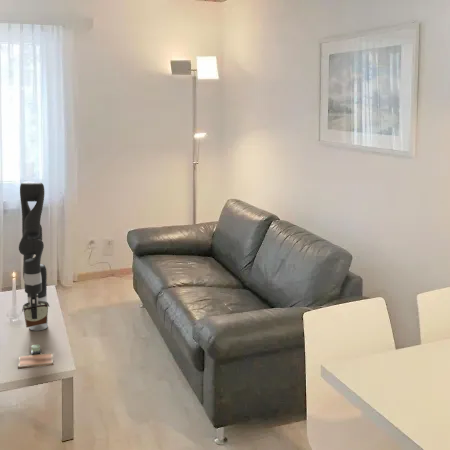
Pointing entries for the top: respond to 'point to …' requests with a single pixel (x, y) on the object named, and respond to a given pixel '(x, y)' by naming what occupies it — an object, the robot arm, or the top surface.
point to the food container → (41, 314)
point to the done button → (36, 347)
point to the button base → (35, 352)
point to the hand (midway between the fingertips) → (34, 315)
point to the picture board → (35, 360)
